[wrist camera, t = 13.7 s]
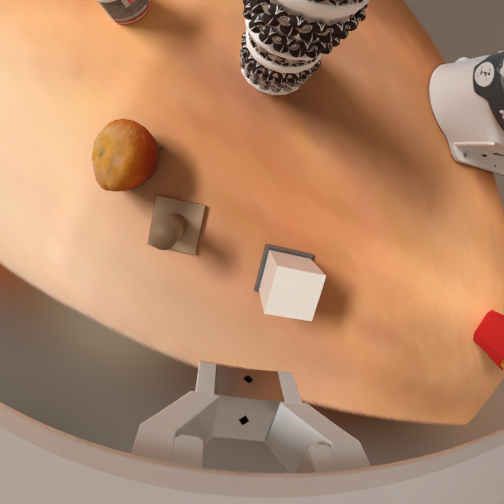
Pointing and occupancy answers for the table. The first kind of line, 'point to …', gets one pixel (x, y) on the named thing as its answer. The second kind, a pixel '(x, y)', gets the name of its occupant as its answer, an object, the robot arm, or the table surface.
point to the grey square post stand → (278, 249)
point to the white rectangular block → (290, 286)
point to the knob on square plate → (176, 225)
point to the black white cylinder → (292, 39)
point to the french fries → (492, 337)
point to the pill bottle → (125, 9)
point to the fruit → (124, 155)
